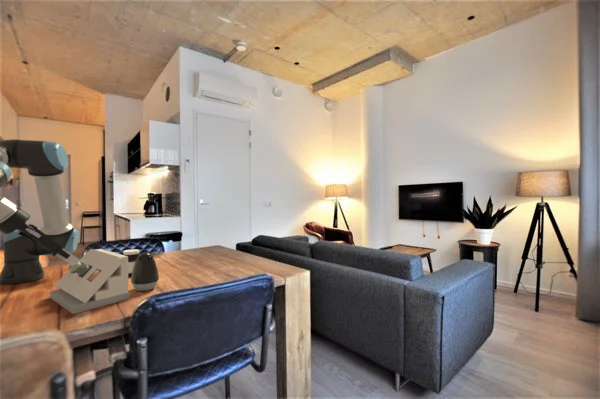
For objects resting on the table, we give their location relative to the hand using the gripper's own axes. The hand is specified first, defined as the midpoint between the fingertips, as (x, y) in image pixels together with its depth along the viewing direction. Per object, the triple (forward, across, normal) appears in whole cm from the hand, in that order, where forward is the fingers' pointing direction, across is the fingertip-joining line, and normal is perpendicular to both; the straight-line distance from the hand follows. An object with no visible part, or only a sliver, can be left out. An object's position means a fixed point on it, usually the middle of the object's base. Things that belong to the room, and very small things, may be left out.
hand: (75, 262), depth 99 cm
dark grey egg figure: (+29, -2, +6) cm, 30 cm away
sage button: (+9, -17, -2) cm, 19 cm away
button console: (+17, -9, -6) cm, 20 cm away
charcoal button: (+9, -9, -2) cm, 13 cm away
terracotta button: (+11, 0, -2) cm, 11 cm away
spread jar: (+33, -31, +9) cm, 46 cm away
